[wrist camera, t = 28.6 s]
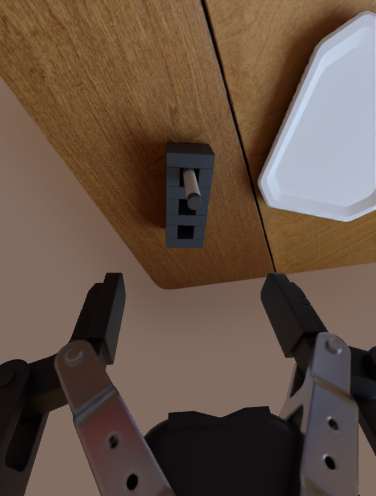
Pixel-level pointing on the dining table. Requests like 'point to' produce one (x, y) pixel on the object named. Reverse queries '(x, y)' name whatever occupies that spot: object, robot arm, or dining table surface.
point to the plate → (329, 130)
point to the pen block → (177, 211)
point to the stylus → (191, 189)
